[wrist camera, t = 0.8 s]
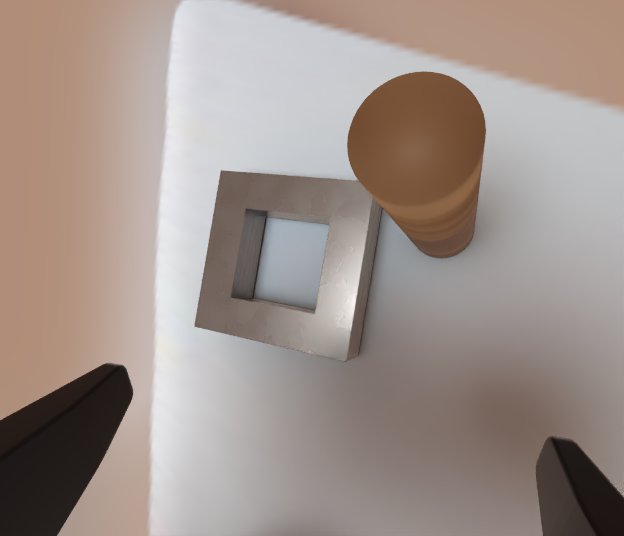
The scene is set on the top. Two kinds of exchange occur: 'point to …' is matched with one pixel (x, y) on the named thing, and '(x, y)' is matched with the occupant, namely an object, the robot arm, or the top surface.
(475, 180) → the walnut pin
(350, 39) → the top surface
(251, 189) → the square hole frame
